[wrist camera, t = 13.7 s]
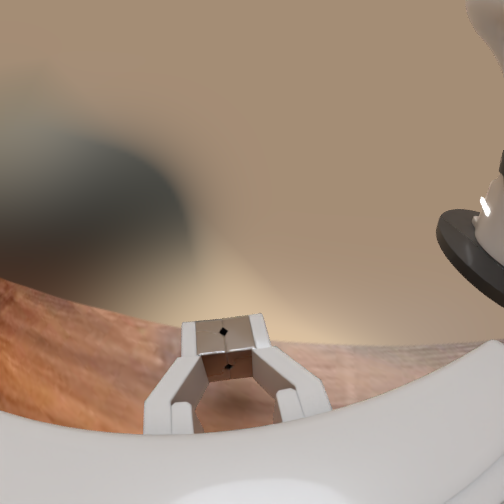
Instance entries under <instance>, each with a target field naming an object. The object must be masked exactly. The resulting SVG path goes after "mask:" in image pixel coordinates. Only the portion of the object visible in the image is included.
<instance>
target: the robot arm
mask: <svg viewBox="0 0 504 504" xmlns="http://www.w3.org/2000/svg"><path fill="white" fill-rule="evenodd" d="M466 10H467V14H468V17H469V20H470V22H471V24H472V26H473V28H474V29H475V31H476V32H477V34H478V35H479V36H480V37H481V38H482V39H483V40H484V41H485V43H486V44H487V45H488V47H489V48H490V49H491V51H492V52H493V54H494V56H495V58H496V59H497V61H498V64H499V66H500V68H501V70H502V73H503V76H504V0H466ZM500 162H501V163H500V168H499V172H500V173H501V174H500V176H499V177H498V178H497V179H495V180H493V181H492V182H491V184H490V186H489V190H488V192H487V195H486V198H485V201H484V199H483V197H481V201H480V202H481V204H482V209H481V212H480V214H479V216H474V217H473V219H472V224H473V225H474V227H475V237H476V239H477V241H478V242H479V244H480V245H481V246H482V248H483V249H484V250H485V251H486V252H487V253H488V254H489V255H490V256H491V257H493V258H494V259H495V260H496V261H497V262H499V263H500V264H501V265H503V266H504V150H503V153H502V157H501V160H500ZM247 377H253V378H254V379H255V380H256V381H257V383H258V384H259V385H260V386H261V387H262V388H263V389H264V390H265V391H266V392H267V393H268V394H269V395H270V396H271V397H272V398H273V399H274V400H275V406H274V413H273V424H271V425H265V426H259V427H253V428H246V429H239V430H231V431H221V432H210V433H204V429H203V427H202V425H201V423H200V421H199V419H198V417H197V415H196V413H195V409H196V407H197V405H198V404H199V402H200V400H201V398H202V396H203V394H204V392H205V390H206V388H207V386H208V385H209V382H215V381H222V380H229V379H239V378H247ZM0 504H504V344H503V343H501V342H499V341H496V340H489V341H487V342H485V343H484V344H482V345H480V346H479V347H477V348H476V349H474V350H472V351H471V352H469V353H467V354H465V355H464V356H462V357H460V358H458V359H456V360H455V361H453V362H451V363H449V364H447V365H445V366H443V367H441V368H439V369H437V370H435V371H433V372H431V373H429V374H427V375H425V376H423V377H421V378H419V379H417V380H414V381H412V382H410V383H407V384H405V385H403V386H400V387H398V388H396V389H393V390H391V391H388V392H385V393H383V394H380V395H378V396H375V397H372V398H369V399H366V400H363V401H361V402H358V403H354V404H351V405H348V406H345V407H342V408H338V409H335V410H332V407H331V404H330V402H329V399H328V396H327V394H326V391H325V389H324V386H323V383H322V381H321V380H320V379H319V378H317V377H316V376H315V375H313V374H312V373H311V372H309V371H308V370H307V369H305V368H304V367H303V366H301V365H300V364H299V363H297V362H296V361H295V360H293V359H292V358H291V357H289V356H288V355H287V354H285V353H284V352H283V351H282V350H280V349H279V348H278V347H276V346H271V342H270V339H269V336H268V332H267V328H266V325H265V321H264V318H263V315H262V314H261V313H259V314H253V315H245V316H237V317H231V318H222V319H215V320H203V321H193V322H183V323H182V332H181V357H178V358H177V359H176V360H175V362H174V363H173V364H172V366H171V367H170V368H169V370H168V371H167V372H166V374H165V375H164V376H163V378H162V379H161V380H160V382H159V383H158V385H157V386H156V387H155V389H154V390H153V391H152V393H151V394H150V395H149V397H148V398H147V399H146V401H145V402H144V425H143V434H125V433H111V432H101V431H92V430H84V429H77V428H71V427H65V426H60V425H55V424H50V423H45V422H41V421H36V420H32V419H28V418H24V417H21V416H17V415H14V414H10V413H7V412H4V411H1V410H0Z"/></svg>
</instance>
